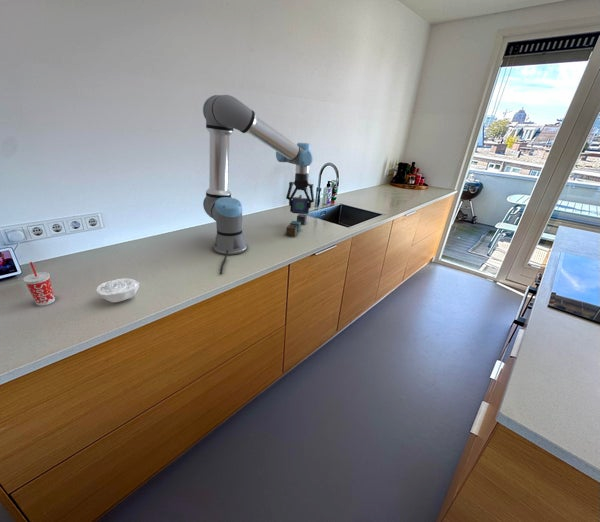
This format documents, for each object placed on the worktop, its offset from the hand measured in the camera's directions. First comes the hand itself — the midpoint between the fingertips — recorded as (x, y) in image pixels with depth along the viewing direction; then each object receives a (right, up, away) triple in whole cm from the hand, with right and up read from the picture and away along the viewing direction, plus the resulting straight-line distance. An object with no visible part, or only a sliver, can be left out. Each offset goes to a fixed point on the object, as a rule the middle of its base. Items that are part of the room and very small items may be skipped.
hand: (299, 212), depth 169 cm
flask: (0, -1, 0) cm, 1 cm away
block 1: (-3, -11, -3) cm, 12 cm away
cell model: (-59, -41, -73) cm, 103 cm away
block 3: (+1, -5, +11) cm, 12 cm away
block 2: (-4, -14, -9) cm, 18 cm away
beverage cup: (-81, -42, -77) cm, 119 cm away
